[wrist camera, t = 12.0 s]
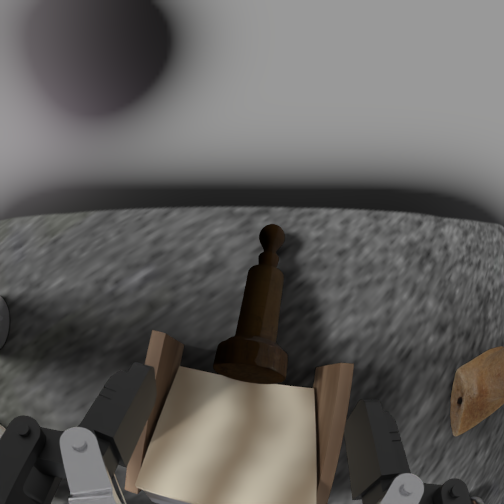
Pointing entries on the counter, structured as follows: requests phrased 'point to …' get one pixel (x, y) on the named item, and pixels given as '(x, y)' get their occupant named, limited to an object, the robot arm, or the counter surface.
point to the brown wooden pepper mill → (258, 321)
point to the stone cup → (477, 390)
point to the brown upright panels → (326, 410)
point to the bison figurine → (476, 500)
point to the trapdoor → (232, 443)
